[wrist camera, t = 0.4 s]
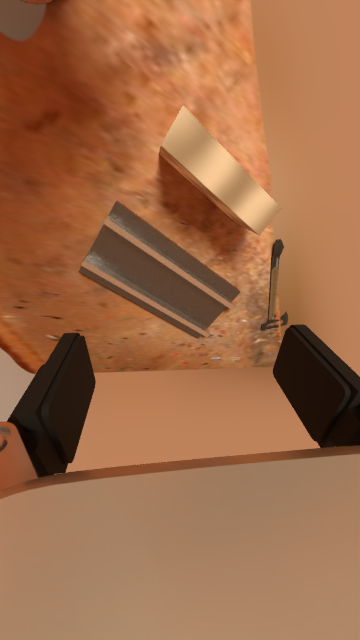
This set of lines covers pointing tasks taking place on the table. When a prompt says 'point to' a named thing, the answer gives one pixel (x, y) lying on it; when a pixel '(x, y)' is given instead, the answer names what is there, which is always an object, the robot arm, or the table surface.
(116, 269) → the door track
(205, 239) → the table surface
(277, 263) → the tactical tomahawk
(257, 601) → the robot arm
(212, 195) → the door panel
